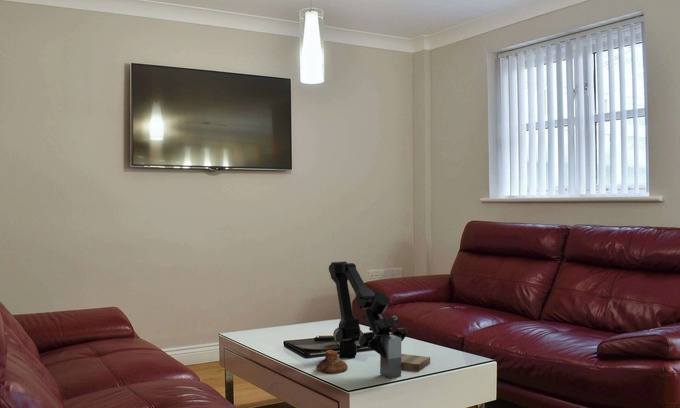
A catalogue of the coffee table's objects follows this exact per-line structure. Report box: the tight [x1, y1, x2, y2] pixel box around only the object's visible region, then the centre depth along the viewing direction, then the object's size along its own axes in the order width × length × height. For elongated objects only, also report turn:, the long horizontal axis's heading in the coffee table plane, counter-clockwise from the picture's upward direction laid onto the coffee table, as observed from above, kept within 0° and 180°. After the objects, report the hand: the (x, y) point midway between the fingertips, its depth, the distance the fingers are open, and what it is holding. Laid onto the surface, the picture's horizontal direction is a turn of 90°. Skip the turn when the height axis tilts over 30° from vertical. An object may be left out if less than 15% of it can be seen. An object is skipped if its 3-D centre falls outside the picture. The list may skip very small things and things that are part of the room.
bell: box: [315, 349, 348, 375], centre depth 237 cm, size 12×12×7 cm
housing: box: [379, 335, 402, 379], centre depth 228 cm, size 6×6×14 cm
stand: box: [401, 353, 431, 372], centre depth 242 cm, size 12×12×2 cm
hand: (392, 356), depth 227 cm, fingers closed on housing, 5 cm apart
